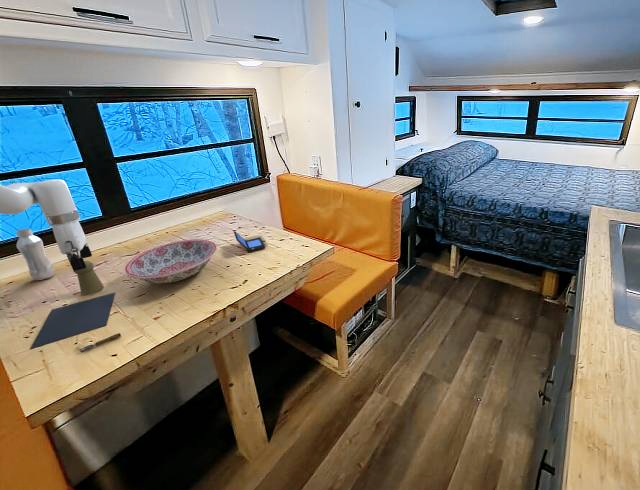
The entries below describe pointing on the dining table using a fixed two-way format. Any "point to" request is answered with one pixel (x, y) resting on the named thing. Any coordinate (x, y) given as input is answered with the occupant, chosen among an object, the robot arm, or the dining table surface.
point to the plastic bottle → (34, 255)
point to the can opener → (102, 341)
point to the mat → (74, 319)
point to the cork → (88, 279)
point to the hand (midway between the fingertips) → (83, 263)
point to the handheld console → (250, 243)
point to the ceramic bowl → (171, 261)
